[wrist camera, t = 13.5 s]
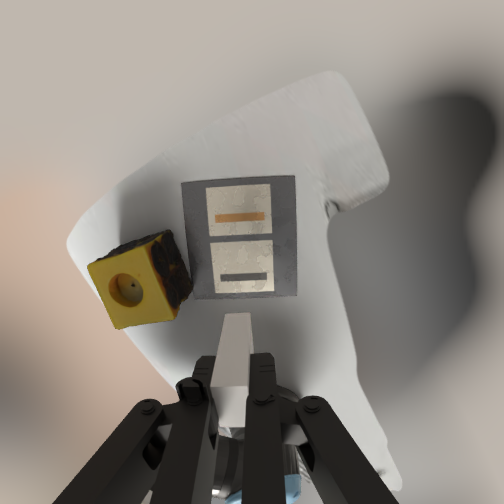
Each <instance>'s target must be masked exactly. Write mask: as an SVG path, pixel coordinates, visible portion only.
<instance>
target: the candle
mask: <svg viewBox="0 0 504 504" xmlns="http://www.w3.org/2000/svg"><path fill="white" fill-rule="evenodd" d="M87 269H88V271H89V274H90V276H91V278H92V280H93V282H94V284H95V286H96V288H97V291H98V293H99V295H100V297H101V299H102V301H103V304H104V306H105V308H106V310H107V312H108V314H109V317H110V319H111V321H112V323H113V325H114V327H115V329H119V330H120V329H123V328H126V327H129V326H137V325H142V324H148V323H156V322H163V321H170V320H174V319H175V318H176V317H177V313H178V311H179V309H180V304H181V303H182V302H183V301H185V300H186V299H188V296H189V294H190V293H191V291H192V290H193V286H192V285H191V280H190V279H189V275H188V272H187V270H186V267H185V264H184V262H183V260H182V258H181V254H180V252H179V250H178V248H177V245H176V243H175V241H174V238H173V233H172V232H171V230H166V231H163V232H160V233H156V234H154V235H151V236H150V235H149V236H147V237H144V238H142V239H139V240H134V241H132V242H130V243H127V244H125V245H120V246H119V247H117V248H116V249H113V250H111V252H109V254H108V255H106V256H104V257H103V258H98V259H97V260H96V261H94V262H92V263H90V264H88V266H87Z"/></svg>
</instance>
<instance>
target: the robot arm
mask: <svg viewBox="0 0 504 504" xmlns="http://www.w3.org/2000/svg"><path fill="white" fill-rule="evenodd" d="M175 387H176V390H177V393H178V396H179V399H180V400H179V402H176V403H173V404H168V405H162V404H161V403H160V402H159V401H157V400H155V399H145V400H142V401H140V402H138V403H137V404H136V405H135V406H134V407H133V409H132V410H131V411H130V412H129V413H128V415H127V416H126V417H125V418H124V419H123V421H122V422H121V423H120V424H119V425H118V427H117V428H116V429H115V430H114V431H113V433H112V434H111V435H110V436H109V437H108V439H107V440H106V441H105V442H104V443H103V444H102V446H101V447H100V448H99V449H98V451H97V452H96V453H95V454H94V455H93V456H92V458H91V459H90V460H89V461H88V462H87V463H86V465H85V466H84V467H83V468H82V469H81V470H80V472H79V473H78V474H77V475H76V476H75V478H74V479H73V480H72V481H71V482H70V483H69V485H68V486H67V487H66V488H65V489H64V490H63V492H62V493H61V494H60V495H59V496H58V497H57V499H56V500H55V501H54V502H53V503H52V504H211V498H212V497H214V498H220V499H225V504H292V503H294V502H295V501H296V500H297V499H298V498H299V496H300V493H301V475H300V470H299V461H298V453H299V455H300V457H301V459H302V461H303V463H304V465H305V467H306V469H307V472H308V474H309V476H310V478H311V480H312V482H313V484H314V485H315V488H316V489H317V491H318V493H319V495H320V497H321V499H322V501H323V503H324V504H399V503H398V502H397V500H396V499H395V497H394V496H393V495H392V493H391V492H390V491H389V489H388V488H387V486H386V485H385V484H384V482H383V481H382V479H381V478H380V477H379V475H378V474H377V472H376V471H375V470H374V468H373V467H372V465H371V464H370V463H369V461H368V460H367V458H366V457H365V455H364V454H363V453H362V451H361V450H360V448H359V447H358V445H357V444H356V443H355V441H354V440H353V438H352V437H351V435H350V434H349V433H348V431H347V430H346V428H345V427H344V425H343V424H342V422H341V421H340V419H339V418H338V417H337V415H336V414H335V412H334V411H333V409H332V408H331V406H330V405H329V403H328V402H327V401H326V400H325V399H324V398H322V397H319V396H306V397H304V398H302V399H300V400H299V399H298V397H297V396H296V395H295V394H294V393H293V392H291V391H290V390H288V389H286V388H283V387H280V386H277V384H276V373H275V363H274V357H273V356H272V355H271V354H270V353H256V354H254V347H253V336H252V326H251V315H250V312H246V313H229V314H225V318H224V322H223V327H222V332H221V336H220V341H219V346H218V351H217V355H216V356H201V358H200V359H199V360H198V361H197V362H196V365H195V369H194V371H193V375H192V377H188V378H185V379H182V380H181V381H179V382H178V383H177V384H176V386H175ZM218 422H219V425H220V427H229V429H230V432H231V435H232V438H230V437H225V436H221V435H219V432H218ZM297 451H298V453H297Z"/></svg>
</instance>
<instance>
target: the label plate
mask: <svg viewBox="0 0 504 504" xmlns="http://www.w3.org/2000/svg"><path fill="white" fill-rule="evenodd" d="M181 185H182V197H183V208H184V219H185V228H186V238H187V246H188V255H189V263H190V271H191V278H192V285H193V292H194V299H233V298H260V297H281V296H297V232H296V194H295V176H280V177H256V178H239V179H224V180H211V181H199V182H189V183H181Z"/></svg>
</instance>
